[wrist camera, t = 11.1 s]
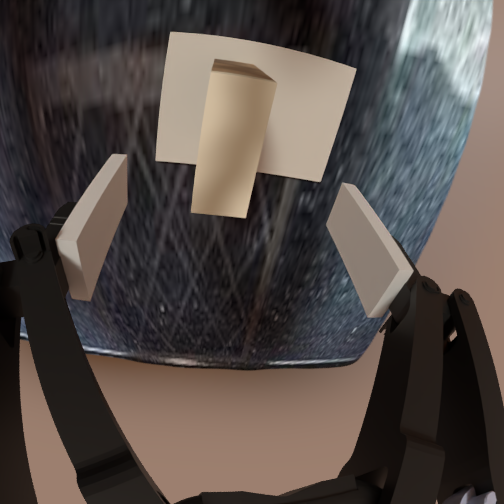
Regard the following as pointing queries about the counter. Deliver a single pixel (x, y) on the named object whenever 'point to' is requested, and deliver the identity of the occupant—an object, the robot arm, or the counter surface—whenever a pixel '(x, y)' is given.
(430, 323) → the robot arm
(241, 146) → the beige rectangular box
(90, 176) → the counter surface
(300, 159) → the felt mat
